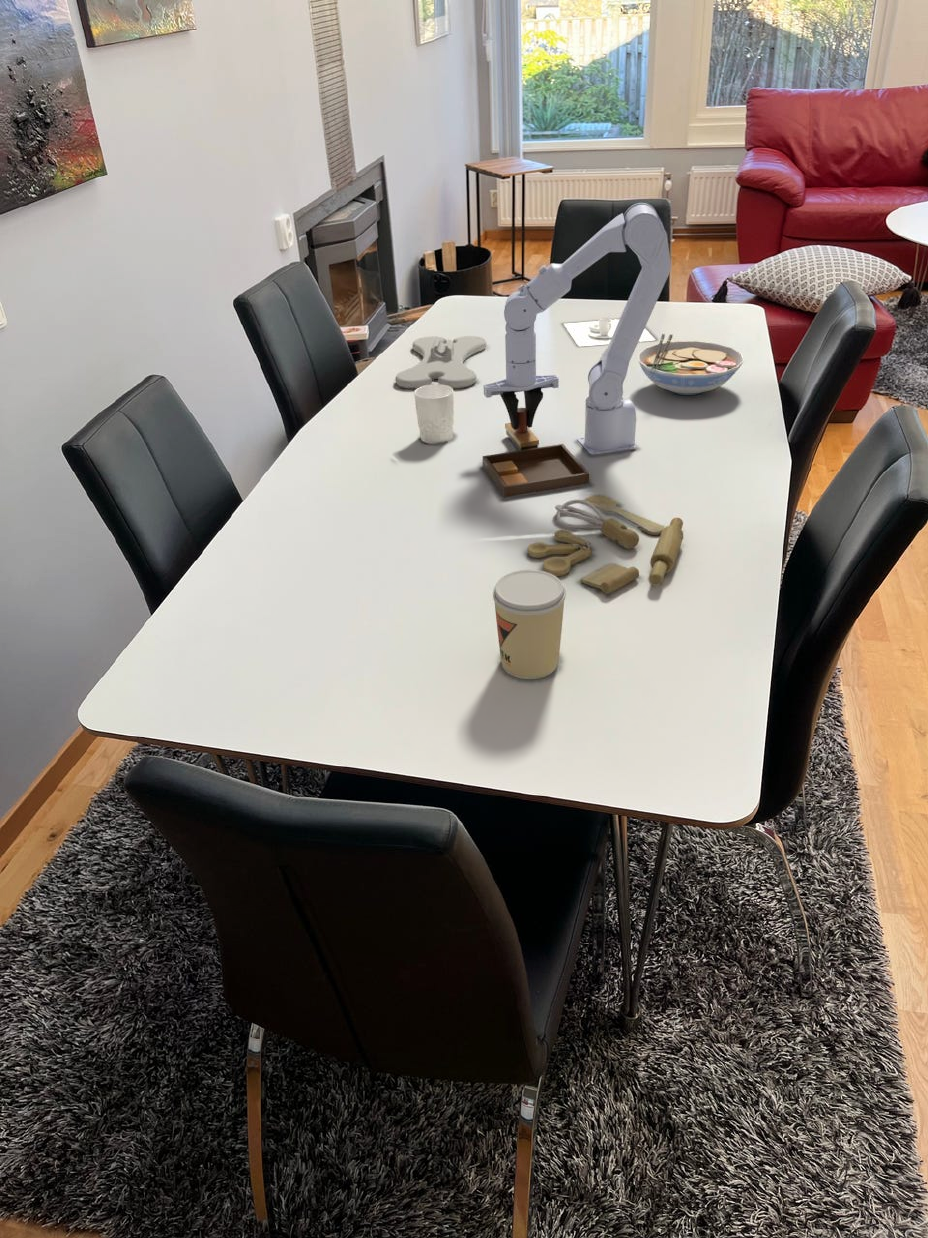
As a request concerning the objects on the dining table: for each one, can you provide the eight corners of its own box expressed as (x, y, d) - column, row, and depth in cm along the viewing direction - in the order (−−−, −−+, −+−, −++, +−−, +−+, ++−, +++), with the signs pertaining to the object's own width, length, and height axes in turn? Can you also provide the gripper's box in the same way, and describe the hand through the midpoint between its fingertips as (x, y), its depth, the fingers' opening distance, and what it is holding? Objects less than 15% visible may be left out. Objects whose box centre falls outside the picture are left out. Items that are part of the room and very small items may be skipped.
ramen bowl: (734, 414, 192) (739, 375, 188) (625, 405, 199) (627, 368, 194) (744, 373, 211) (749, 338, 207) (645, 367, 218) (647, 333, 214)
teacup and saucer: (585, 330, 244) (585, 315, 241) (614, 328, 244) (615, 312, 242) (592, 340, 236) (592, 324, 234) (622, 338, 237) (623, 322, 235)
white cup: (451, 446, 185) (448, 398, 180) (413, 444, 187) (409, 397, 181) (459, 431, 192) (456, 384, 186) (422, 429, 193) (419, 383, 188)
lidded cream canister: (491, 645, 128) (488, 571, 121) (558, 639, 128) (559, 565, 122) (499, 686, 120) (496, 610, 114) (570, 680, 121) (571, 603, 114)
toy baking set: (528, 497, 165) (528, 479, 163) (672, 496, 163) (674, 477, 161) (526, 596, 138) (526, 576, 136) (699, 596, 136) (701, 575, 134)
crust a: (512, 466, 175) (511, 460, 174) (518, 474, 172) (518, 468, 171) (491, 469, 174) (491, 463, 174) (497, 477, 171) (497, 472, 170)
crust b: (521, 478, 170) (521, 472, 170) (527, 487, 167) (527, 481, 166) (500, 482, 170) (500, 476, 169) (506, 491, 166) (506, 485, 166)
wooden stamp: (523, 430, 188) (522, 399, 184) (539, 450, 179) (539, 417, 175) (505, 433, 187) (504, 401, 183) (520, 453, 178) (519, 420, 175)
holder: (487, 342, 240) (487, 323, 237) (474, 388, 212) (473, 367, 209) (415, 343, 242) (414, 324, 239) (393, 389, 214) (391, 368, 211)
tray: (562, 455, 179) (562, 443, 178) (589, 485, 168) (589, 473, 166) (482, 468, 176) (482, 455, 175) (504, 499, 165) (504, 487, 163)
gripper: (550, 347, 178) (549, 414, 186) (478, 357, 175) (480, 424, 183) (562, 358, 172) (561, 426, 180) (488, 368, 170) (490, 437, 177)
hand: (521, 426), depth 181 cm, fingers closed on wooden stamp, 2 cm apart
